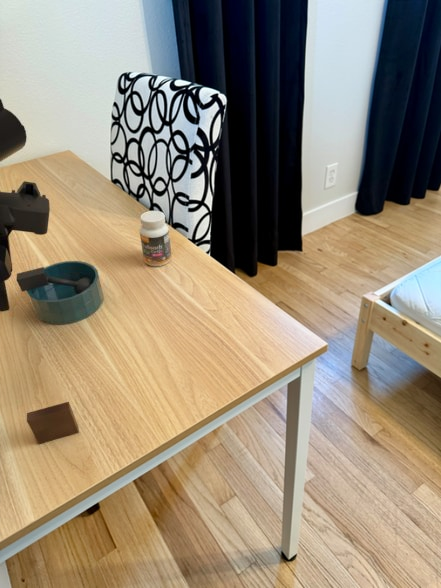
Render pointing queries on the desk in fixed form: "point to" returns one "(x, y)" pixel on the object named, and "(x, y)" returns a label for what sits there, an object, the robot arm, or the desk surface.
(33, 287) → the ladle
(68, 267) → the bowl
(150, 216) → the pill bottle
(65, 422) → the chocolate brown square
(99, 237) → the desk surface
